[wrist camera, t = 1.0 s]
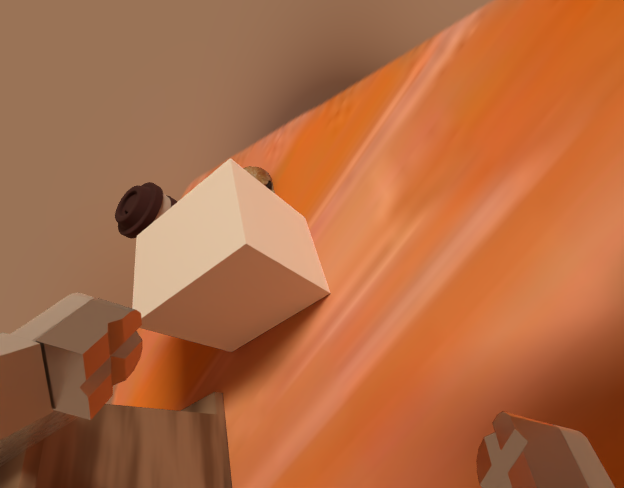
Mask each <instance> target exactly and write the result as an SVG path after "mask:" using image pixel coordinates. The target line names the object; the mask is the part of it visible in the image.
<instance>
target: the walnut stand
mask: <svg viewBox="0 0 624 488" xmlns="http://www.w3.org/2000/svg"><path fill="white" fill-rule="evenodd" d="M0 488H232V482H231V472H230V462H229V452H228V442H227V432H226V422H225V412H224V402H223V393H220V392H213V393H211V394H210V395H208V396H206V397H204V398H203V399H201V400H199V401H197V402H195V403H194V404H192V405H190V406H188V407H186V408H185V409H183V410H181V411H175V410H164V409H154V408H143V407H132V406H121V405H110V404H105V405H104V406H103V407H102V408H101V409H100V410H99V411H98V412H97V414H96V415H95V416H94V417H93V418H92V419H91V420H88V419H84V418H81V417H77V418H76V419H74V420H73V421H71V422H69V423H68V424H66V425H65V426H63V427H62V428H60V429H58V430H57V431H55V432H54V433H52V434H51V435H49V436H47V437H46V438H44V439H43V440H41V441H40V442H38V443H36V444H35V445H33V446H32V447H30V448H29V449H27V450H25V451H24V452H22V453H21V454H19V455H18V456H16V457H14V458H13V459H11V460H10V461H8V462H6V463H5V464H3V465H2V466H0Z"/></svg>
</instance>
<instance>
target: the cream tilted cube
mask: <svg viewBox="0 0 624 488" xmlns="http://www.w3.org/2000/svg"><path fill="white" fill-rule="evenodd" d="M328 294H330V290H329V287H328V285H327V282H326V279H325V276H324V273H323V270H322V267H321V264H320V261H319V258H318V255H317V252H316V249H315V246H314V243H313V240H312V237H311V234H310V231H309V228H308V225H307V222H306V219H305V217H304V216H302V215H301V214H300V213H298V212H297V211H296V210H295V209H293V208H292V207H291V206H290V205H288V204H287V203H286V202H285V201H283V200H282V199H281V198H280V197H278V196H277V195H276V194H275V193H273V192H272V191H271V190H270V189H268V188H267V187H266V186H265V185H263V184H262V183H261V182H260V181H258V180H257V179H256V178H255V177H253V176H252V175H251V174H250V173H248V172H247V171H246V170H245V169H243V168H242V167H241V166H240V165H238V164H237V163H236V162H235V161H233V160H232V159H231V158H230V159H229V160H227V161H226V162H225V163H224V164H223V165H221V166H220V167H219V168H218V169H217V170H215V171H214V172H213V173H212V174H211V175H209V176H208V177H207V178H206V179H205V180H203V181H202V182H201V183H200V184H199V185H197V186H196V187H195V188H194V189H193V190H191V191H190V192H189V193H188V194H187V195H185V196H184V197H183V198H182V199H181V200H179V201H178V202H177V203H176V204H174V205H173V206H172V207H171V208H170V209H168V210H167V211H166V212H165V213H164V214H162V215H161V216H160V217H159V218H158V219H156V220H155V221H154V222H153V223H152V224H150V225H149V226H148V227H147V228H146V229H144V230H143V231H142V232H141V233H140V234H138V235H137V241H136V256H135V275H134V290H133V307H132V309H135V310H137V311H139V312H140V313H141V319H142V325H141V326H140V327H139V328H143V329H146V330H150V331H154V332H158V333H161V334H165V335H169V336H173V337H176V338H180V339H184V340H187V341H191V342H195V343H199V344H202V345H206V346H210V347H214V348H217V349H221V350H225V351H229V352H233V351H234V350H236V349H238V348H239V347H241V346H243V345H244V344H246V343H248V342H249V341H251V340H253V339H254V338H256V337H258V336H259V335H261V334H263V333H264V332H266V331H268V330H269V329H271V328H273V327H275V326H276V325H278V324H280V323H281V322H283V321H285V320H286V319H288V318H290V317H291V316H293V315H295V314H296V313H298V312H300V311H301V310H303V309H305V308H306V307H308V306H310V305H311V304H313V303H315V302H316V301H318V300H320V299H322V298H323V297H325V296H327V295H328Z"/></svg>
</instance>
